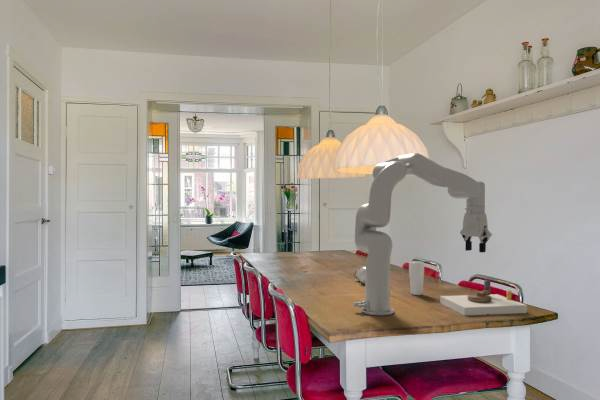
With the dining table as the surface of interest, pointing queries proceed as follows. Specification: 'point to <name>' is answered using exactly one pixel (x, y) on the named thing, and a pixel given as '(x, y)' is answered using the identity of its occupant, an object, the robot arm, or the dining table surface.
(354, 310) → the dining table surface
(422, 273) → the drinking glass
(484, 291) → the brown l-shaped piece
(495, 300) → the stand
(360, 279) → the potion bottle
